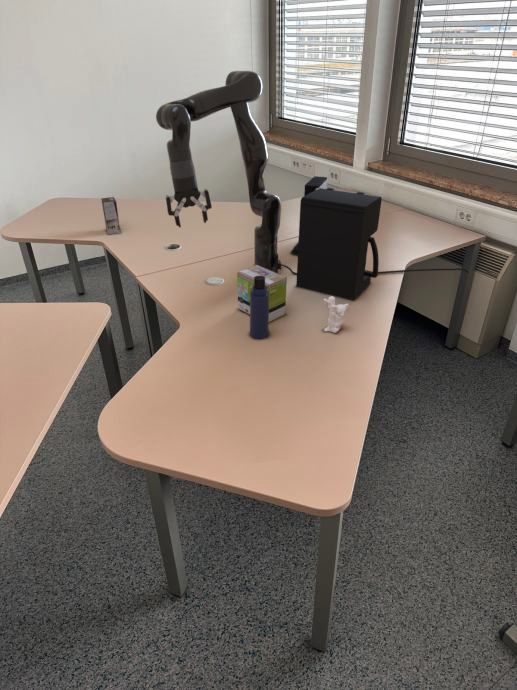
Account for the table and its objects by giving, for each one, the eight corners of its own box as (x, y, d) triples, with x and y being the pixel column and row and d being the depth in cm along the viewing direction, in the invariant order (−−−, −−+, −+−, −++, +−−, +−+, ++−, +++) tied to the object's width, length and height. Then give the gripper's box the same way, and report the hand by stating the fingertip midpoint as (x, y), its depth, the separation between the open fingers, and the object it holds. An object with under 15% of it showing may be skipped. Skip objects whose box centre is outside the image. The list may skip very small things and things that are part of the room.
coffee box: (121, 233, 246) (116, 201, 237) (108, 234, 243) (102, 202, 235) (118, 227, 253) (114, 196, 244) (105, 229, 251) (100, 197, 242)
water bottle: (262, 328, 163) (263, 272, 152) (271, 336, 158) (272, 279, 148) (246, 332, 160) (246, 276, 150) (255, 340, 156) (255, 283, 145)
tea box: (236, 309, 174) (235, 271, 167) (256, 301, 180) (256, 263, 173) (266, 324, 165) (267, 284, 157) (286, 314, 171) (287, 275, 163)
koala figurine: (321, 334, 160) (323, 301, 153) (320, 324, 165) (323, 292, 159) (346, 335, 159) (350, 302, 153) (345, 325, 165) (349, 293, 158)
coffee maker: (380, 284, 193) (394, 195, 175) (363, 303, 179) (376, 208, 161) (316, 270, 205) (322, 185, 187) (295, 286, 191) (300, 197, 173)
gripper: (161, 180, 148) (172, 231, 157) (207, 173, 150) (215, 223, 159) (159, 175, 154) (170, 224, 163) (203, 168, 156) (211, 217, 165)
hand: (192, 224), depth 161 cm, fingers open, 8 cm apart
